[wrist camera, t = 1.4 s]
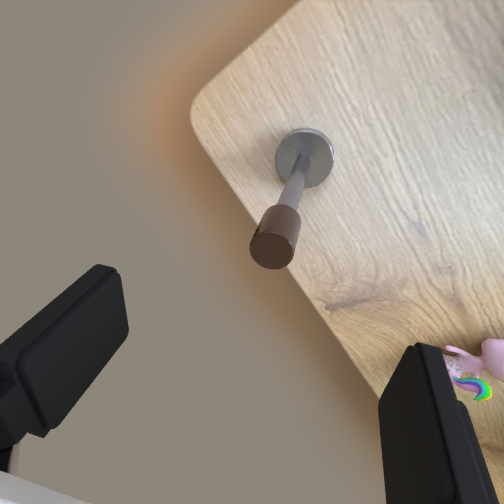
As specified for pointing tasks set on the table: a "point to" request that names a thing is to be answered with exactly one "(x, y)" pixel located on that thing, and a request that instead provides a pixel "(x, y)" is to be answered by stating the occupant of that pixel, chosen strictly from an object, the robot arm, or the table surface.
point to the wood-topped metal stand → (291, 195)
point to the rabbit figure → (477, 367)
